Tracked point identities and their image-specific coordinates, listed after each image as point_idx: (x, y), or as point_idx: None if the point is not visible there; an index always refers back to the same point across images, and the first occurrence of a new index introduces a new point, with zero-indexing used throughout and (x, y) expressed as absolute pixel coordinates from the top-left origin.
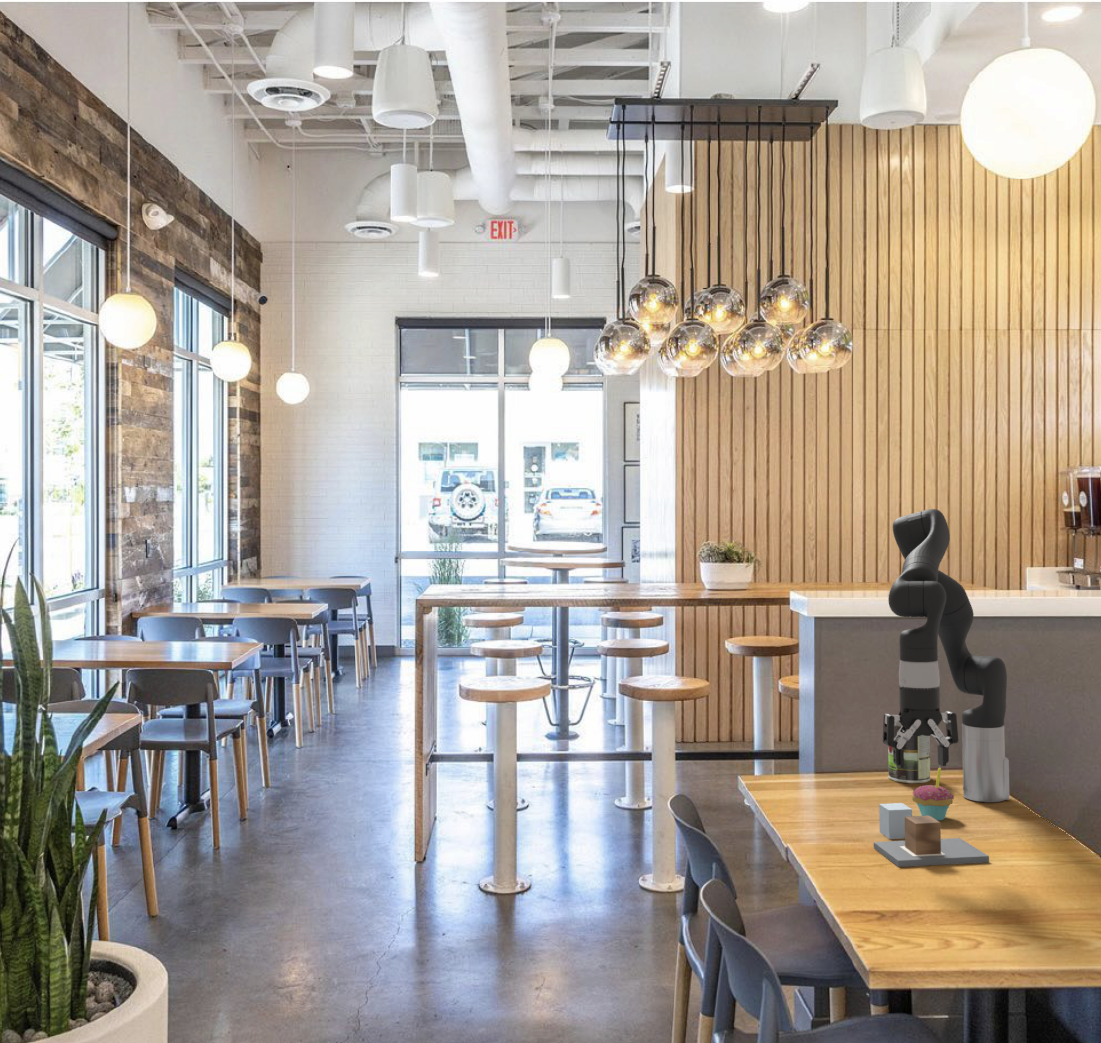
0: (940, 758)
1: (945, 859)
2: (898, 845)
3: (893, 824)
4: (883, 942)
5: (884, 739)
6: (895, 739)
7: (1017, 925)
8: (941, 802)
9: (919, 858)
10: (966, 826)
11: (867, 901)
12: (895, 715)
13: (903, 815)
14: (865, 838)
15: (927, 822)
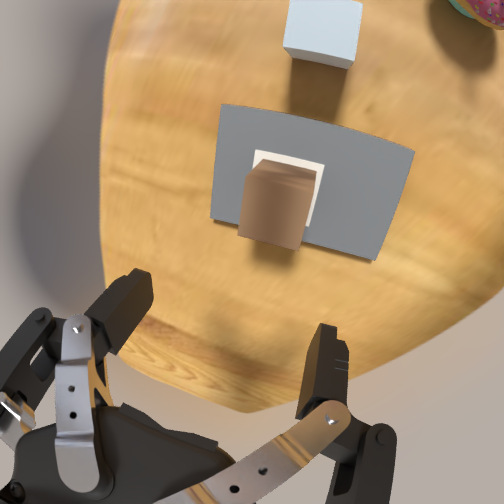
0: (310, 360)
1: None
2: (258, 140)
3: (300, 54)
4: (130, 347)
5: (32, 327)
6: (67, 349)
7: (242, 378)
8: (484, 21)
9: None
10: (491, 73)
11: None
12: (11, 446)
13: (327, 56)
14: (244, 40)
15: (269, 239)
